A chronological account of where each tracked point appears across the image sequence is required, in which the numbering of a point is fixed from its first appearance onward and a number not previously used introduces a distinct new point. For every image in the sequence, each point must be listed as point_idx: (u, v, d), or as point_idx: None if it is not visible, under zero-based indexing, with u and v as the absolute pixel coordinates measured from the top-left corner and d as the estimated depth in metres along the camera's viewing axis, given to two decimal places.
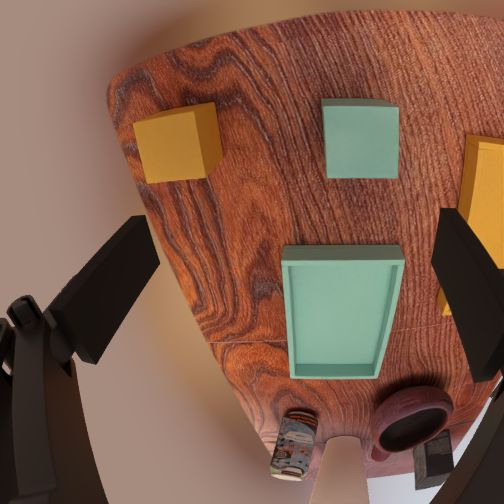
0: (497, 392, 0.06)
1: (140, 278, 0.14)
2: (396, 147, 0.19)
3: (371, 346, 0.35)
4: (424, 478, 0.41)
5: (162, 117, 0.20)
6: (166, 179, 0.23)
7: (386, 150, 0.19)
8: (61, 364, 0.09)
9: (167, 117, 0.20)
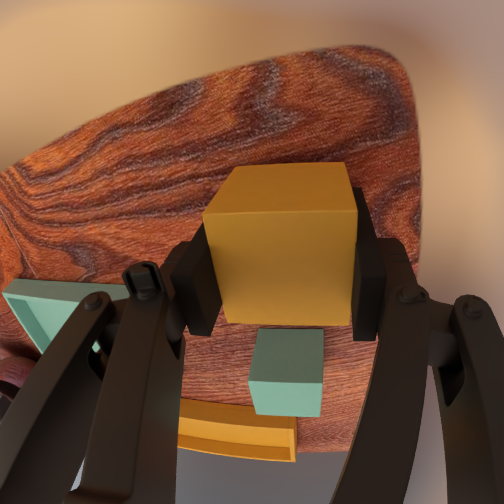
0: (375, 358, 0.08)
1: None
2: (284, 415, 0.22)
3: None
4: None
5: (352, 276, 0.11)
6: (215, 260, 0.11)
7: (281, 410, 0.22)
8: (176, 337, 0.10)
9: (349, 286, 0.11)
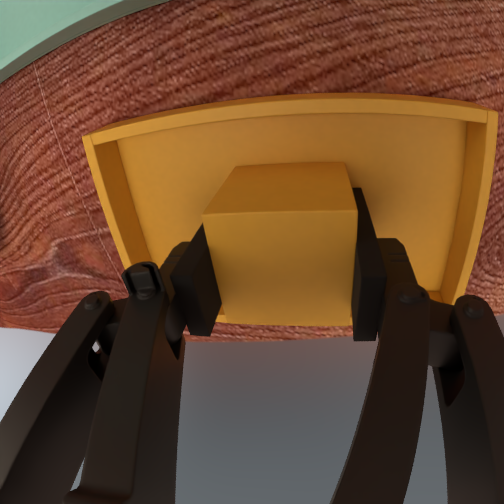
0: (375, 358, 0.08)
1: None
2: None
3: None
4: None
5: (352, 277, 0.11)
6: (215, 260, 0.11)
7: None
8: (176, 337, 0.10)
9: (349, 287, 0.11)
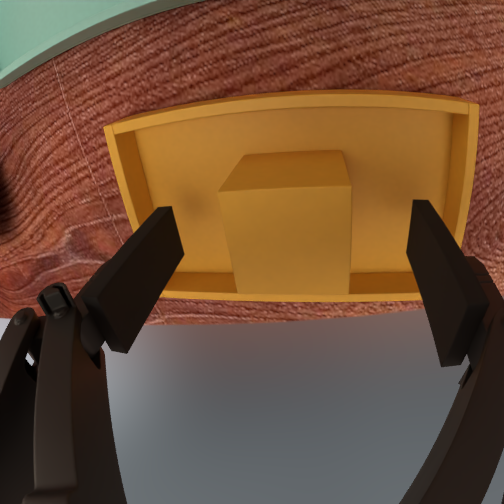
0: (465, 379, 0.07)
1: (167, 268, 0.14)
2: None
3: (27, 52, 0.13)
4: None
5: (349, 246, 0.12)
6: (228, 233, 0.13)
7: None
8: (92, 353, 0.10)
9: (347, 256, 0.12)
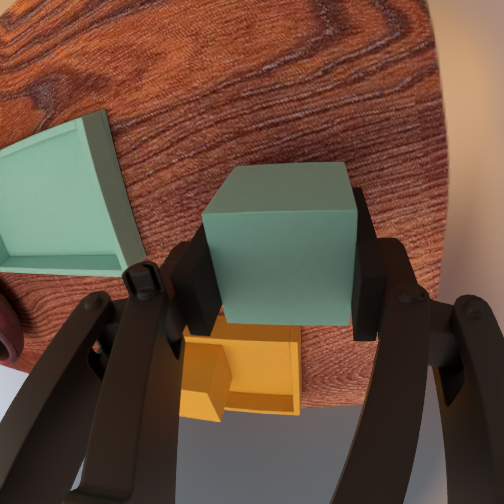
0: (375, 358, 0.08)
1: None
2: (280, 322, 0.12)
3: (24, 249, 0.25)
4: None
5: (213, 408, 0.23)
6: None
7: (273, 308, 0.12)
8: (176, 337, 0.10)
9: (214, 411, 0.24)
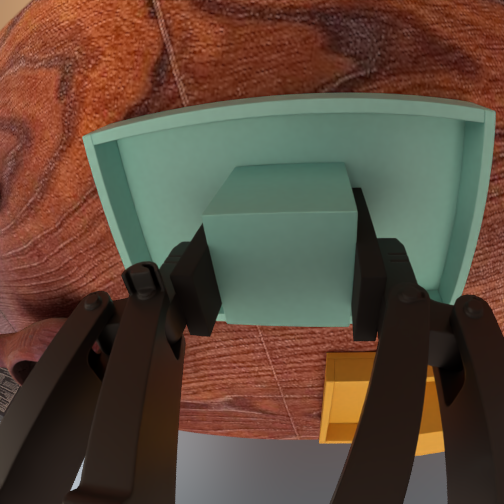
0: (375, 358, 0.08)
1: None
2: (280, 323, 0.12)
3: None
4: None
5: None
6: None
7: (273, 310, 0.12)
8: (176, 337, 0.10)
9: None
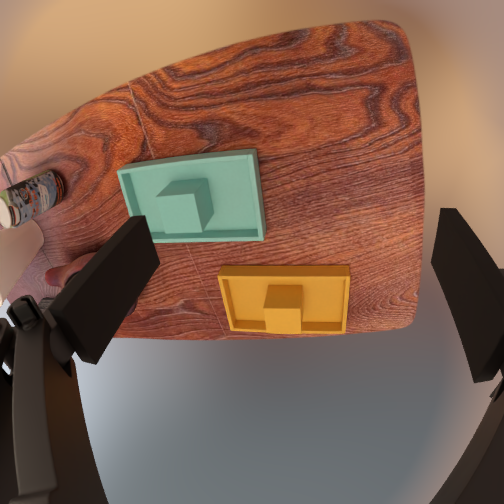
0: (497, 392, 0.06)
1: (140, 278, 0.14)
2: (181, 232, 0.38)
3: None
4: None
5: (300, 322, 0.43)
6: (265, 317, 0.43)
7: (178, 226, 0.37)
8: (61, 364, 0.09)
9: (300, 324, 0.43)
